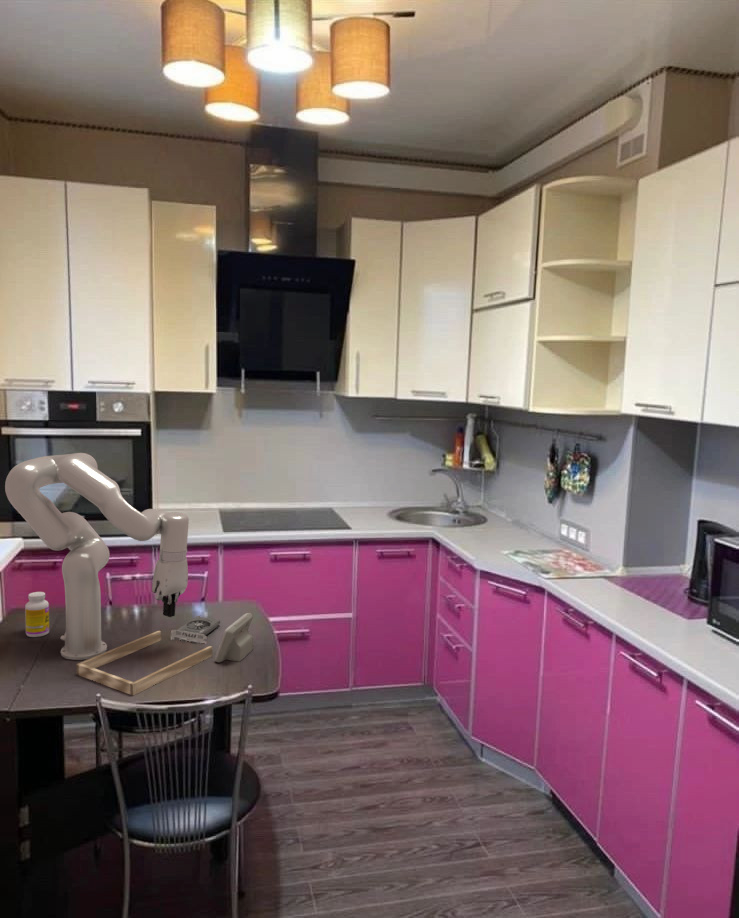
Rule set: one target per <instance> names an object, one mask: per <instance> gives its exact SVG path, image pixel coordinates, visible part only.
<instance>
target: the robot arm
mask: <svg viewBox="0 0 739 918" xmlns="http://www.w3.org/2000/svg"><path fill="white" fill-rule="evenodd" d="M98 468H99V467H98V463H97V461H96V459H95V458H94V457H93V456H92V455H90V454H88V453H84V452H76V453H75V452H74V453H67V454H57V455H54V454H53V455H45V456H39V457H35V458H31V459H28V460H24V461H22V462H19V463H18V464H17V465H16V464H15V466H13V467H12V469H11V470H10V471H9V472H8V475H7V476H6V479H5V482H4V483H5V485H4V489H5V490H4V491H5V495H6V497H7V500H8V501H9V503H10V504H11V505H12V507H13V508H14V509H15V510H16V511H17V513H18V514H20V515H21V517H22V518H23V519H24V520H25V521H26V523H27V524H28V526H29V527H30V528H31V529H32V530H33V531H34V533H35V534H36V535H37V536H38V537H39V539H40V540H41V541H42V542H43V543H44V544H45V546H46V547H47V548H49V549H50V550H52V551H63V550H65V549H68V550H69V552H68V553H67V554H66V555H65V557H64V559H63V561H62V565H61V574H62V578H63V583H64V597H65V599H64V601H65V602H64V603H65V632H64V635H61V636H60V640H61V641H62V642H63V641H64V646H62V648H61V649H60V656H61V657H62V658H64V659H66V660H72V661H73V660H74V661H82V660H84V661H85V660H88V659H90V658H93V657H95V656H98V655H100V654H102V653H105V652H107V650H108V645H107V643H106V642H105V641H103V640H102V602H101V601H102V599H101V598H102V597H101V595H102V594H101V585H100V580H99V572H100V571H101V570H102V569H104V567H105V566H106V565H107V564H108V563H109V561H110V549H109V547H108V545H107V544H106V543H105V541H104V540H103V539H102V538H101V536H100V535H99V534H98V532H97V531H96V530H95V529H94V528H93V527H92V526H91V524H90V523H89V522H88V521H87V519H85V518H84V517H83V516H82V515H81V514H79V513H76V512H73V511H65V512H61V511H60V510H59V509H58V508H57V506H56V505H55V504H54V502H53V501H52V500H51V499H49V497H47V496H46V495H44V494H43V493H42V491H40V488H44V487H46V486H48V485H55V484H64V485H66V486H67V487H68V488H70V489H71V490H73V491H74V492H76V493H78V494H79V495H81V496H82V497H84V498H85V499H86V500H88V501H89V502H90V503H92V504H93V505H94V506H95V507H97V508H98V509H99V511H100V512H101V514H103V516H104V517H105V518H106V519H107V521H109V523H110V524H112V526H113V527H115V528H116V529H117V530H119V531H120V532H122V533H123V534H125V535H126V536H128V537H130V538H131V539H133V540H135V541H137V542H147V541H149V540H151V539H152V538H154V536H158V535H160V543H159V544H160V545H159V556H158V558H159V559H157V561H156V563H155V567H154V572H153V577H152V587H151V591H152V593H154V594H155V597H154V599H155V600H157V601H161V602H162V603H163V607H162V615H163V616H165V617H167V618H172V617H175V615H176V603H178V601H179V597H180V596H181V595H183V593H185V592H186V589H187V588H188V580H189V579H188V578H189V569H188V558H187V553H188V552H189V551H188V537H189V535H188V533H189V523H190V522H189V521H190V519H189V516H188V515H187V514H185V513H182V512H167V511H164V510H160V509H156V508H148V509H144V510H143V511H139V510H138V509H136V508H135V507H133V506H132V505H131V504H129V502H127V501H126V499H125V498H124V496H123V495H122V493H121V489H120V486H119V484H118V483H117V482H116V481H115V480H114V479H112V478H110V477H109V476H108V475H106V474H104V473H103V472H102V471H101V470H100V469H98Z"/></svg>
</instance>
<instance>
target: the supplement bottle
mask: <svg viewBox="0 0 739 918" xmlns="http://www.w3.org/2000/svg"><path fill="white" fill-rule="evenodd" d="M27 596H28V602H26V603H25V605H24V608H25V609H24V611H25V613H24V614H25V616H24V617H25V634H26V636H27V637H29V638H40V637H43V636H46V635H48V634H49V633H50V604H49V603H50V602H48V600H46V599H45V598H46V592H44V591H35V592H30V593H28V595H27Z"/></svg>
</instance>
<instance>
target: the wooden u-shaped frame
mask: <svg viewBox="0 0 739 918" xmlns="http://www.w3.org/2000/svg"><path fill="white" fill-rule="evenodd" d="M161 641H162V631H161V630H157V631H154V632H152V633H149V634H146V635H145V636H144V635H143V636H141V637H139V638H137V639H135V640H132V641H130V642H128V643H125V644H121V645H120V646H117V647H115V648H113V649H109V650H108V651H107V650H106V651H105V652H104V653H102V654H100V655H98V656H95V657H93V658H90V659H84V661H81V662H78V663H76V665H75V666H76V668H75V669H76V672H75V673H76V676H78V677H81V678H84V679H87V680H89V681H92V680H93V681H92V682H95V681H96V683H98V684H100V683H101V685H103V686H106V687H109V688H111V689H114V690H116V691H120V692H122V693H125V694H127V695H130V696H135V695H138V694H140V693H141V692H143V691H145V690H147V689H149V688H152V687H153V685H154V686H155V684H156V685H158V684H160V683H162V682H164V681H165V680H168V679H169V678H172V677H174V676H175V675H178V674H179V673H182V672H183V671H186V670H188V669H189V668H191V667H194V666H195V665H197V664H200V663H202V662H203V660H204V661H206V660H207V659H210V658H211V657H213V646H211V645H209V646H206V647H204V648H202V649H200V650H198V651H196V652H193V653H191V654H190V655H187V656H186V657H183V658H181V659H179V660H177V661H175V662H172V663H171V664H169V665H167V666H165V667H162V668H160V669H158V670H156V671H154V672H151V673H150V674H148V675H146V676H143V677H142V678H139V679H137V680H135V681H132V680H129V679H125V678H122V677H120V676H118V675H114V674H111V673H109V672H106V671H104V670H100V669H98V668H100V667H102V666H105V665H108V664H110V663H111V662H114V661H117V660H118V659H121V658H123V657H125V656H128V655H130V654H133V653H135V652H138V651H141V650H143V649H144V648H146V647H150V646H151V645H154V644H156V643H158V642H161Z"/></svg>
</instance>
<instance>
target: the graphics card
mask: <svg viewBox="0 0 739 918" xmlns="http://www.w3.org/2000/svg"><path fill="white" fill-rule="evenodd" d="M220 624H221V619H220V618H218V619H214V618H211V617H203V616H201V615H196V616H195V617H194V618H193V619H191V620H189V621H188V622H186V623H185V624H183V625H182V626H180V627H179V628H177V629H172V630H171V631H170V641H172V640H173V641H180V640H181V642H182V643H186V642H187V641H189V642H188V643H191V642H192V643H191V644H195V643H197V644H201V643H205V644H204V645H207V641H205V640H208V639H207V638H208V636H207V635H209V633H211V632H213V631H214V630H215V629H216V628H218V626H219V625H220Z"/></svg>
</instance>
